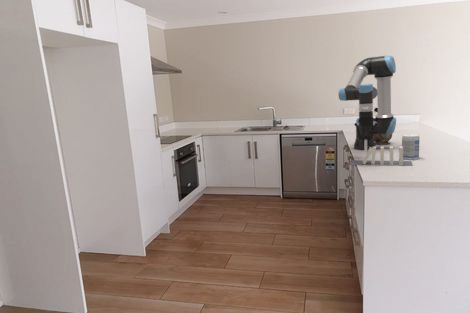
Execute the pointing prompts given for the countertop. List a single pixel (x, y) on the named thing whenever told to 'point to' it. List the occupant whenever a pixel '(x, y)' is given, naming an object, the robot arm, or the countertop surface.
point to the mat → (386, 163)
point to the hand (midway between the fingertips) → (365, 150)
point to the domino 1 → (367, 155)
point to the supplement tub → (410, 146)
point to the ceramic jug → (381, 136)
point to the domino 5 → (400, 155)
